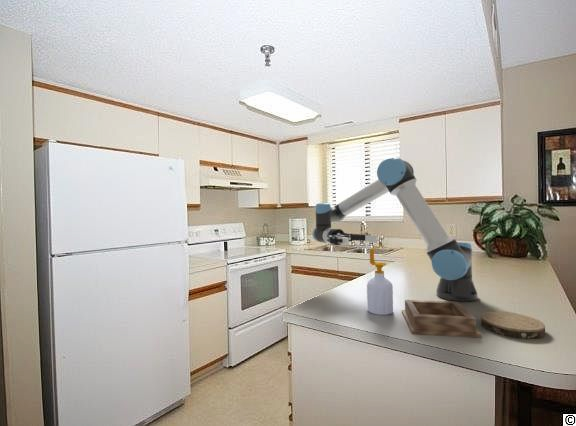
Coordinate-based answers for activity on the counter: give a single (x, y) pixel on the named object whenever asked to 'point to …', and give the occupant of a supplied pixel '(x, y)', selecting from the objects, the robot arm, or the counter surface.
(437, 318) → the walnut caddy
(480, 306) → the counter surface
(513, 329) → the wood slice
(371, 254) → the soap bottle
